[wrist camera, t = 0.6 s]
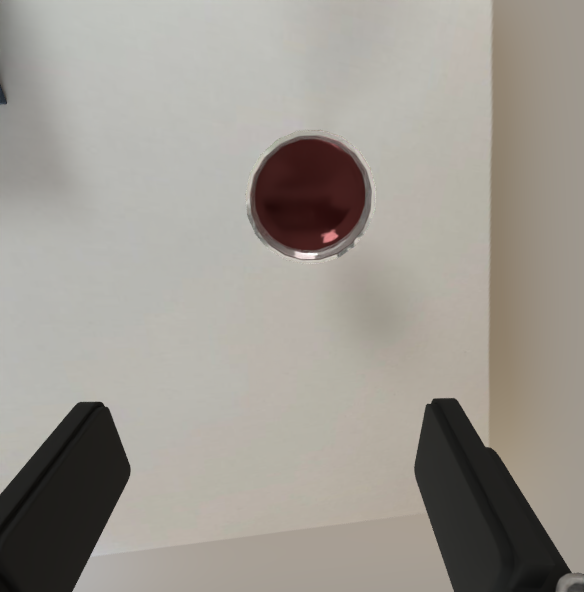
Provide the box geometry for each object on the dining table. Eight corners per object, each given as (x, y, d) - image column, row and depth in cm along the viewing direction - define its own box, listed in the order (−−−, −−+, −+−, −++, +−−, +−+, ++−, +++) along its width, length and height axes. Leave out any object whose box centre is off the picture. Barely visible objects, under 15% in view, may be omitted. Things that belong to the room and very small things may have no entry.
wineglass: (306, 235, 30) (311, 288, 19) (248, 181, 28) (217, 206, 17) (362, 176, 27) (405, 199, 17) (304, 114, 26) (308, 92, 15)
